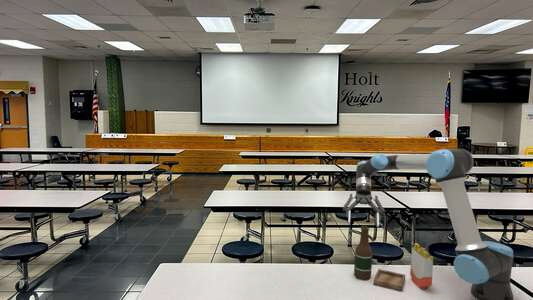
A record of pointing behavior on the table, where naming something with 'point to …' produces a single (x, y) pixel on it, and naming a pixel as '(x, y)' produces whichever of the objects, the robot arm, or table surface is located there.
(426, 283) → the french fries container
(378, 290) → the table surface
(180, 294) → the table surface
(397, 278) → the wooden tray
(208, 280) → the table surface
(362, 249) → the beer bottle
